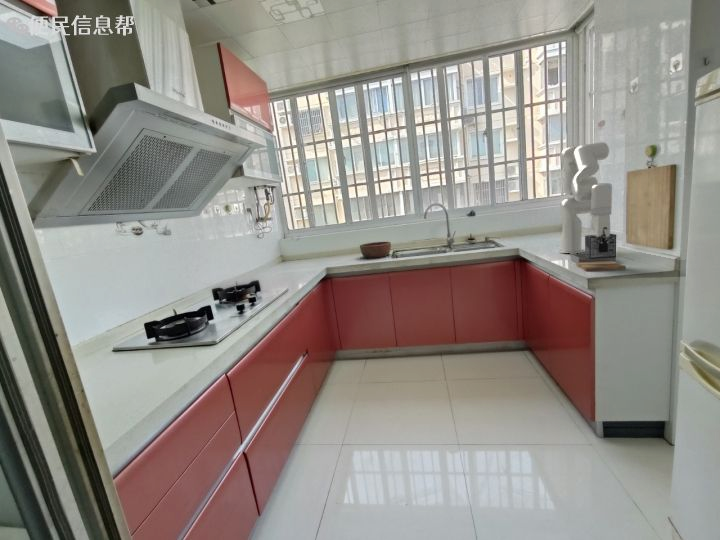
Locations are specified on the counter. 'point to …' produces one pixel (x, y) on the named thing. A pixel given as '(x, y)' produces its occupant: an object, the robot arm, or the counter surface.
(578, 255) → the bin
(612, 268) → the walnut board
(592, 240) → the small box
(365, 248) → the wooden bowl
